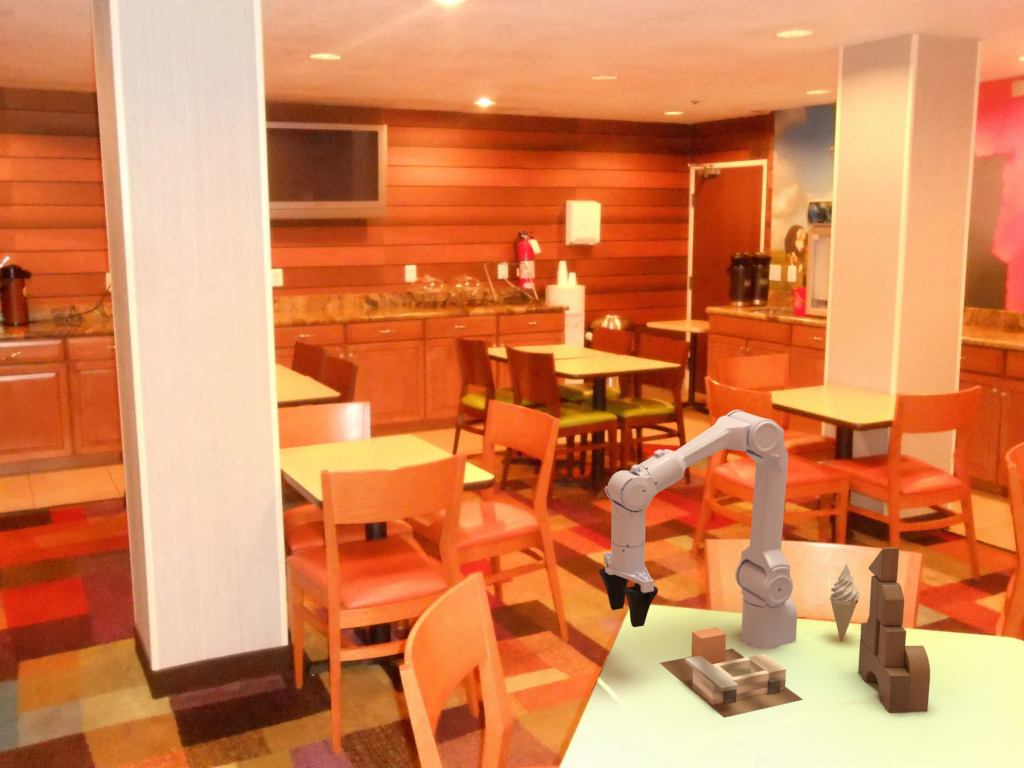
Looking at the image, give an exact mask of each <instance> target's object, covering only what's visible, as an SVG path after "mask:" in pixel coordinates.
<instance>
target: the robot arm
mask: <svg viewBox="0 0 1024 768" xmlns="http://www.w3.org/2000/svg"><path fill="white" fill-rule="evenodd" d="M784 435H785V430H784V429H783V428H782V427H781V426H780V425H779V424H778V423H777V422H776V421H774V420H773V419H770V418H765V417H761V416H758V415H755V414H752V413H749V412H746V411H745V410H743V409H734V410H732V411H729V412H728V413H727V414H726V415H722V416H720V417H718V419H717V420H716V422H715V423H714V424H713V425H712V426H711V427H709V428H708V429H706V430H704V431H703V432H701V433H700V434H698V435H697V436H696V437H694V438H692V439H690V440H689V441H688V442H687V443H685V444H683V445H682V446H680V447H679V448H678V449H676V450H671V449H658V450H656V451H654V452H653V456H651V457H649V458H647V459H646V460H644V461H642V462H641V463H639V464H633V465H632V466H631V469H630V470H625V469H624V470H619V471H617V472H614V474H612V475H611V478H609V481H608V483H607V486H605V488H604V491H605V494H606V496H607V498H608V499H609V501H610V503H611V533H610V534H611V540H610V541H611V544H610V545H611V547H610V549H611V551H610V552H606V553H603V564H604V565H605V568H600V569H599V570H598V574H599V575H600V577H601V579H602V581H603V585H604V586H605V589H606V593H607V598H608V603H609V606H610V610H612V611H616V610H622V609H624V606H625V600H626V599H627V603H628V607H629V608H628V610H629V620H630V625H631V627H632V628H639V627H644V626H645V624H646V620H647V616H648V613H649V610H650V607H651V606H652V605H651V604H652V603H653V601H654V598H655V597H656V596H657V595H658V593H659V588H658V587H657V586H656V585H655V580H654V579H653V578H652V577H651V575H650V573H649V571H648V569H647V567H646V563H645V562H646V514H647V513H646V511H647V510H646V509H647V508H648V507H649V506H650V504H651V503H652V501H653V498H654V497H655V496H657V494H658V493H660V492H662V491H663V490H665V489H666V488H669V487H670V486H672V485H673V484H675V483H677V482H679V481H680V480H682V479H683V478H684V476H685V472H686V469H687V468H689V467H692V466H693V465H695V464H697V463H699V462H700V461H703V460H705V459H706V458H708V457H711V456H712V455H714V454H716V453H719V452H720V451H722V450H733V451H740V452H741V451H742V452H745V454H746V455H747V456H749V458H751V460H753V461H754V463H755V471H754V472H755V474H754V485H753V498H752V499H753V500H752V514H751V524H750V525H751V527H750V537H749V538H750V539H749V540H750V541H749V546H747V548H745V549H744V550H742V551H741V554H740V561H739V563H738V565H737V567H736V570H735V575H734V576H735V577H734V578H735V582H736V584H738V586H739V587H740V588H741V592H740V593H741V594H742V611H741V635H740V636H741V641H742V642H743V643H744V644H745V645H747V646H748V647H752V648H755V649H761V650H762V649H765V650H769V649H775V648H778V647H780V646H782V645H787V644H791V643H792V644H793V643H796V641H797V627H798V626H797V625H798V610H797V607H796V604H795V602H794V600H793V599H792V598H791V595H792V592H793V590H794V589H793V588H794V585H793V584H794V583H793V579H792V577H791V571H790V570H791V565H790V563H789V561H788V560H787V558H786V556H785V554H784V553H783V552H782V541H783V531H784V530H783V528H784V516H785V503H786V491H787V489H786V488H787V479H788V478H787V476H788V469H789V468H788V464H789V453H788V450H787V447H786V443H785V442H784V441H785V440H784V437H785V436H784ZM628 581H631V582H632V583H634V584H633V586H627V585H628Z"/></svg>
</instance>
